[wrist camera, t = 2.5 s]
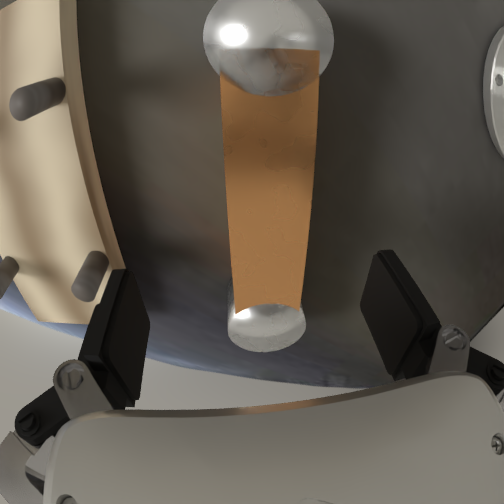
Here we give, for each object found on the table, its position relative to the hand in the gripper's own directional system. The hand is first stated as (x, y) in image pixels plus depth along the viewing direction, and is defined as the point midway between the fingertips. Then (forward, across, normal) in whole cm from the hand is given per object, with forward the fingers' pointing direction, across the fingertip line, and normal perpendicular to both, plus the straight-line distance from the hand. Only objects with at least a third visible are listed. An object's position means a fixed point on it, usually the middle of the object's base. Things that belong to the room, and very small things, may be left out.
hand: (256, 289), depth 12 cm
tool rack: (+9, +14, -2) cm, 17 cm away
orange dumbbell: (+8, -1, 0) cm, 8 cm away
